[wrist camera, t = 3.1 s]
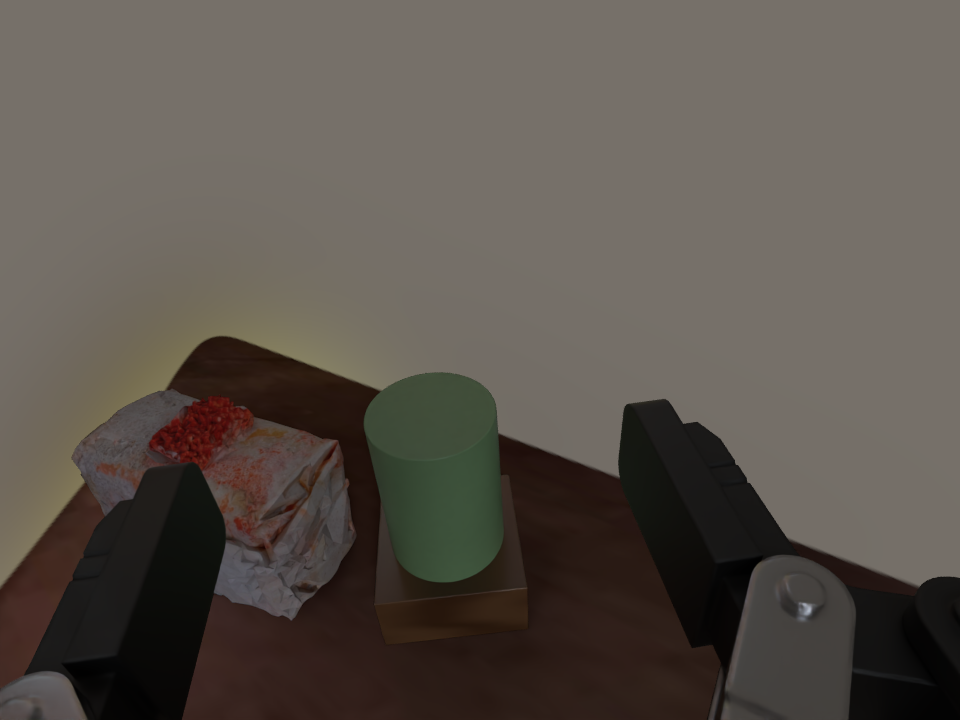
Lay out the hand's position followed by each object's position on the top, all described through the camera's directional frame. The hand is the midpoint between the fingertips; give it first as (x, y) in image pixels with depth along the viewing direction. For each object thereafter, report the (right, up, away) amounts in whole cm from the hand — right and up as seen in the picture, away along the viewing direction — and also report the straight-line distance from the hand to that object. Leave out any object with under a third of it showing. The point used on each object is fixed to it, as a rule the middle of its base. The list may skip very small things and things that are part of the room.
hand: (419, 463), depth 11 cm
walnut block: (0, -9, +21) cm, 23 cm away
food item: (-12, -9, +23) cm, 27 cm away
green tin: (0, -7, +18) cm, 20 cm away
